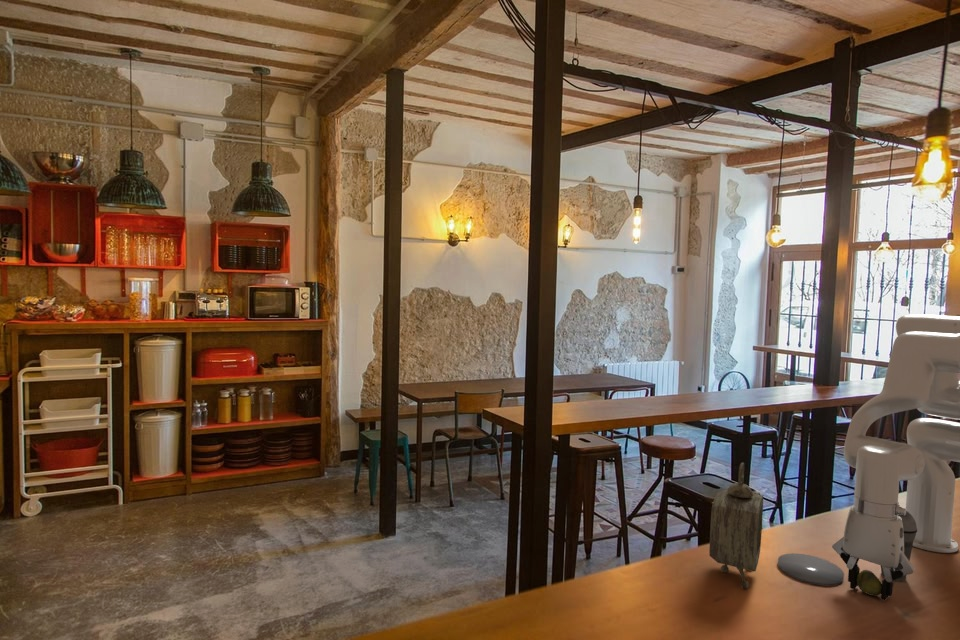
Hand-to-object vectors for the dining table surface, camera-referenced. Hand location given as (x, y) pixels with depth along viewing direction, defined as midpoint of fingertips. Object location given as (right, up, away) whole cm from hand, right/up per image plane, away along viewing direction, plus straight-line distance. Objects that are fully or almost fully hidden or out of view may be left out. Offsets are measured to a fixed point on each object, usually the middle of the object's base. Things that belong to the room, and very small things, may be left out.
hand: (869, 591), depth 125 cm
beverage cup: (+11, -1, +8) cm, 13 cm away
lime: (0, -1, 0) cm, 1 cm away
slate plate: (-7, 0, +10) cm, 12 cm away
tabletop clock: (-25, 0, +7) cm, 26 cm away
